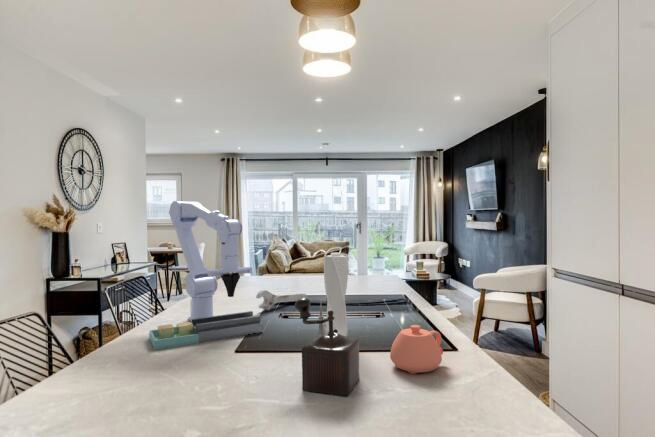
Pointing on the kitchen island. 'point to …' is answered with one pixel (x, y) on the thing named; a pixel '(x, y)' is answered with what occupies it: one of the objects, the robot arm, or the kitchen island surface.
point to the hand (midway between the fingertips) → (230, 296)
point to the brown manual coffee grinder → (328, 358)
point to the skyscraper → (335, 291)
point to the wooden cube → (184, 329)
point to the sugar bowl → (416, 350)
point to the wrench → (276, 298)
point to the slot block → (226, 326)
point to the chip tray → (171, 340)
